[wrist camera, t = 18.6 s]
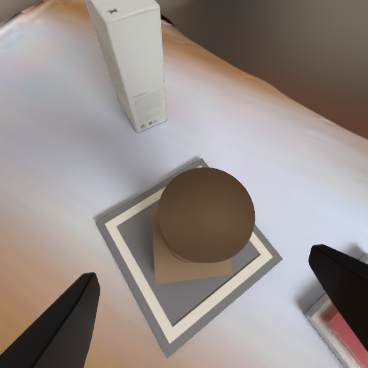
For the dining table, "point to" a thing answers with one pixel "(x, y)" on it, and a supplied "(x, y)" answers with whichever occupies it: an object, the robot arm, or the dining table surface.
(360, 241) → the dining table surface
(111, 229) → the marked board
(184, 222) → the walnut stamp
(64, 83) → the dining table surface
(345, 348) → the ink pad
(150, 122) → the skincare box
